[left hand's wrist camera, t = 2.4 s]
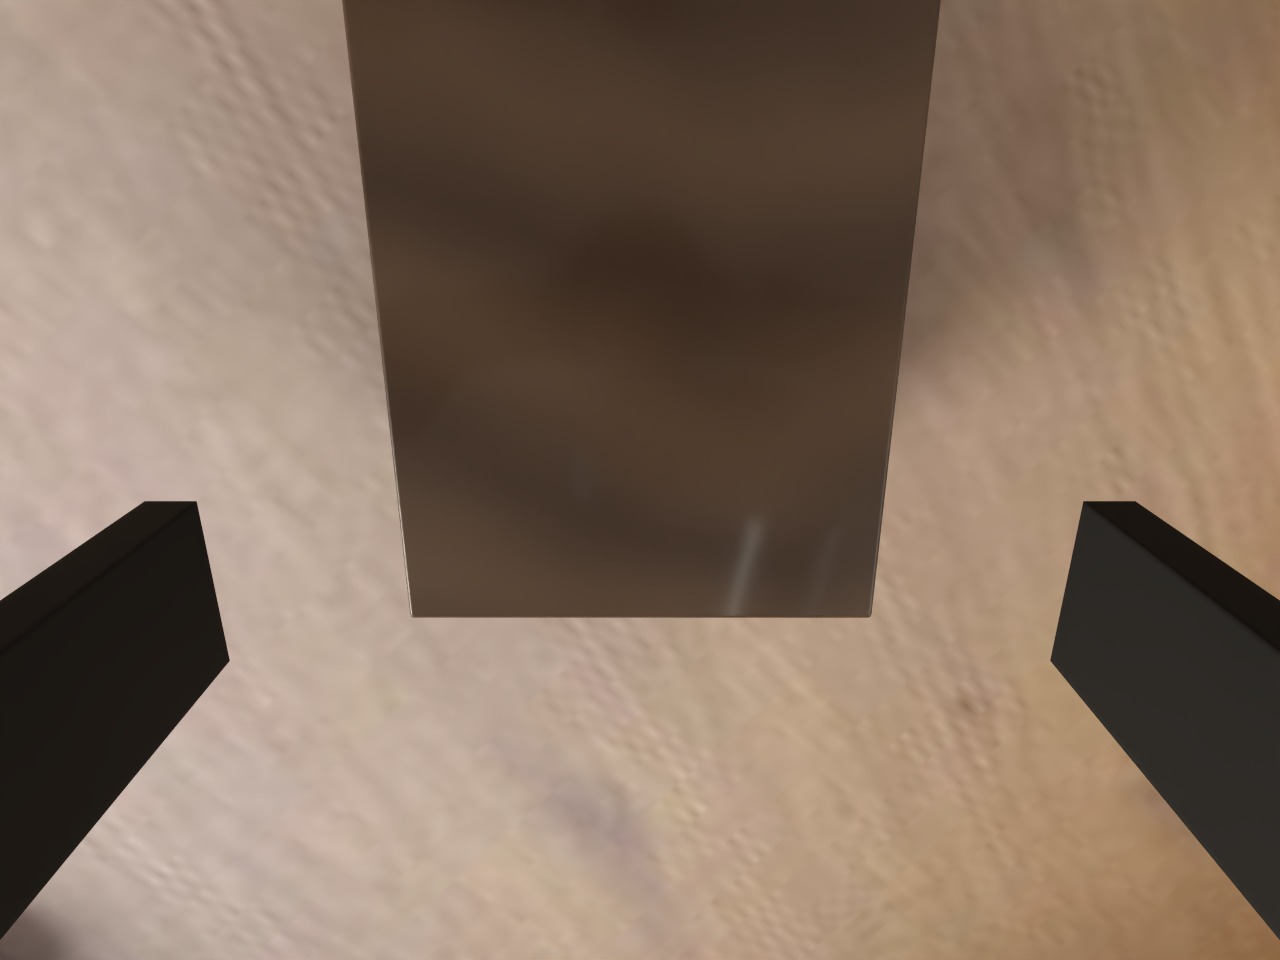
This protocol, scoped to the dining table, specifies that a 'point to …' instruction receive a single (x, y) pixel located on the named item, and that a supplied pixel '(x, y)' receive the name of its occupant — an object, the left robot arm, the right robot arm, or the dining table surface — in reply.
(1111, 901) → the dining table surface
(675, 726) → the dining table surface
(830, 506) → the cabinet
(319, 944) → the dining table surface
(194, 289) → the dining table surface
